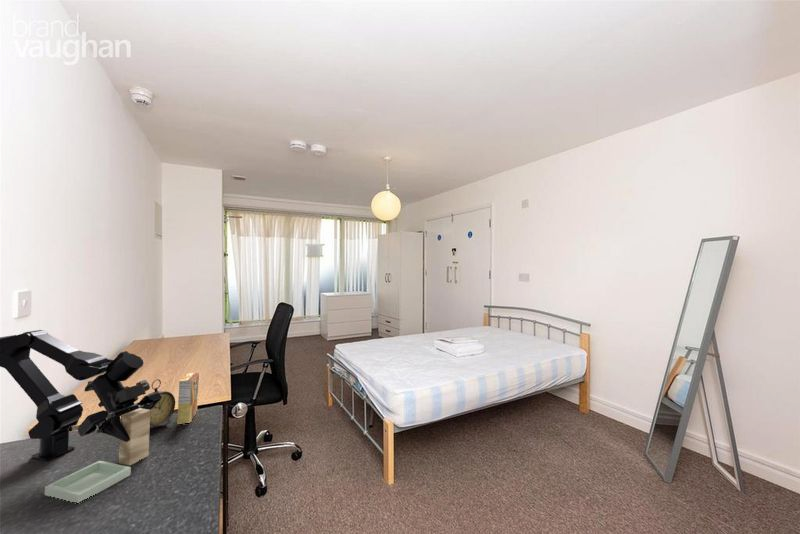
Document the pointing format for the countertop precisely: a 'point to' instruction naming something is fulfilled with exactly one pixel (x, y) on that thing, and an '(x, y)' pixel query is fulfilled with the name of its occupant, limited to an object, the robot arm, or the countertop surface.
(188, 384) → the candy box
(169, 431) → the countertop surface
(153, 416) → the alarm clock
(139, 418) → the beech block
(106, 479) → the green tray
